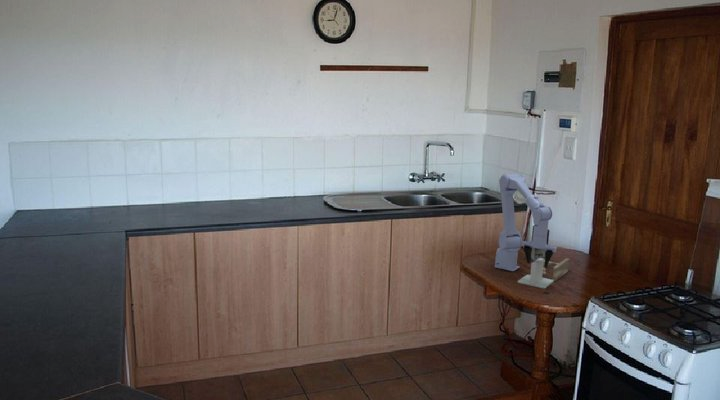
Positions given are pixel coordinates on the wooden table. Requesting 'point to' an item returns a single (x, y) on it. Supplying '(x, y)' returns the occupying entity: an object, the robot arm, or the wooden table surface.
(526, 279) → the mat
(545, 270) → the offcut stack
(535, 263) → the gray rectangular slab
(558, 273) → the corner fence
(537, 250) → the coffee box
